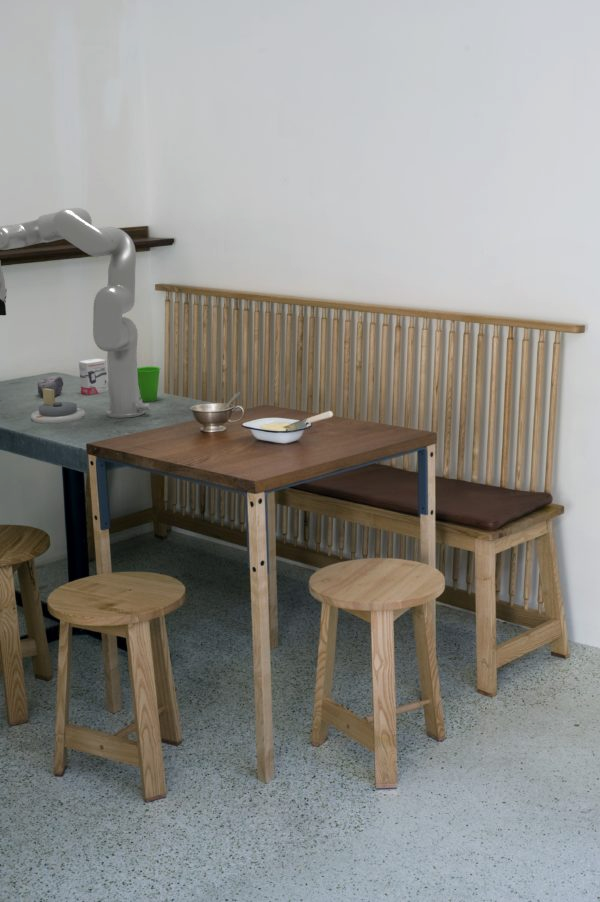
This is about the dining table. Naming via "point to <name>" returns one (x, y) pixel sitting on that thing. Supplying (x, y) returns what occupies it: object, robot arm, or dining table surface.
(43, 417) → the plate
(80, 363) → the ink box
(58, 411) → the dial
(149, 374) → the cup
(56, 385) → the pumice stone
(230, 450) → the dining table surface
